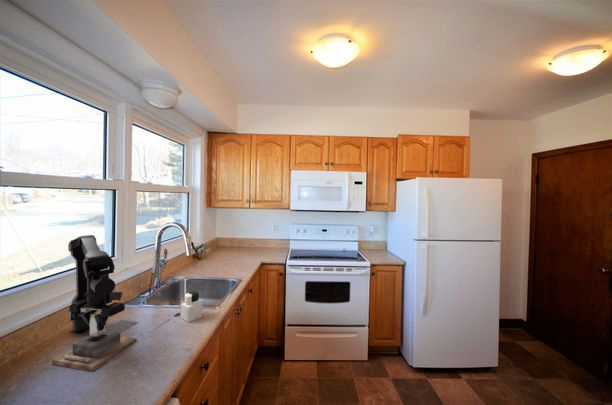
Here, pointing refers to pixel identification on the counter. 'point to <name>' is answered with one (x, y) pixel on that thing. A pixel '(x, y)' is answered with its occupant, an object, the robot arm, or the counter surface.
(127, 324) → the key mat
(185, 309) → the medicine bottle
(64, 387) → the counter surface
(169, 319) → the tactical tomahawk
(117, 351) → the stand
